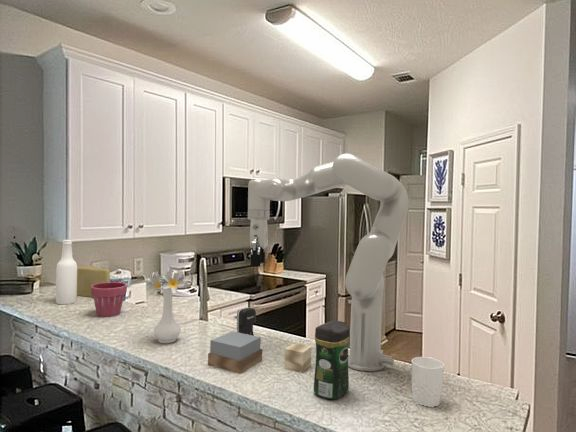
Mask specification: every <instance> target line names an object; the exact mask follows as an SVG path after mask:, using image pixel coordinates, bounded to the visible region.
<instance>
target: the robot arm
mask: <svg viewBox="0 0 576 432" xmlns="http://www.w3.org/2000/svg"><path fill="white" fill-rule="evenodd" d="M247 186H248V187H247V188H248V191H247V195H248V196H247V220H250V225H249V226H250V229H249V246H250V248H251V250H250V267H258V268H259V267H260V266H261V264H264V263H266V248H267V247H268V246H269V241H268V239H269V236H268V235H269V233H268V232H269V231H268V229H269V228H268V220H270V215H271V214H270V209H271V208H270V206H271V204H270V203H271V201H276V202H291V201H295V200H298V199H302V198H306V197H309V196H312V195H315V194H316V195H317V194H319V193H322V192H325V191H330V190H332V189H336V188H340V187H344V186H349V187H351V188H352V189H355V190H356V191H358V192H360V193H361V194H363V195H365V196H367V197H368V198H371V199H373V200H375V201H379V202H380V207H379V209H378V211H377V213H376V215H375V219H374V222H373V224H372V227H371V229H370V232H369V233H367V234H366V235H364V236H363V237H362V238H361V239H360V240H359V243H358V245H357V247H356V249H355V251H354V254H353V258H352V259H351V262H350V265H349V268H348V270H347V272H346V275H345V280H344V281H345V282H344V284H345V290H346V291H347V293H348V294H349V295H350V296H351V303H350V326H349V333H350V338H349V354H348V368H350V369H353V370H357V371H361V372H376V371H381V370H384V369H385V367H386V365H391V366H394V364H395V358H393V356H392V355H386V354H384V350H383V349H381V347H382V346H381V345H382V316H383V299H384V298H383V297H384V289H385V276H384V274H383V273H384V272H385V269H386V266H387V264H388V262H389V260H390V259H391V258H392V257H393V255H394V252H395V250H396V247H397V243H398V240H399V239H400V238H399V237H400V235H401V232H402V230H403V227H404V223H405V221H406V218H407V216H408V212H409V205H410V201H409V195H408V192H407V189H406V188H405V186H404V184H402V183H401V182H400V180H399V179H397V177H395V176H394V175H393V174H390V173H388V172H386V171H384V170H383V169H380V168H379V167H376V166H374V165H373V164H371V163H369V162H367V161H365V160H363V159H361V158H360V157H359V156H357V155H355V154H353V153H350V152H349V153H348V152H347V153H342V154H339V155H338V156H337V157H336V158H335V159H334V160H333V161H329V162H327V163H323V164H319V165H315V166H313V167H311V169H310V170H309V171H308V173H306V174H303V175H302V176H298V177H294V178H290V179H282V178H276V177H275V178H274V177H273V178H269V179H261V178H260V179H259V178H258V179H251V180H249V181H248V185H247Z"/></svg>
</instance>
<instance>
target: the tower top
mask: <svg viewBox="0 0 576 432" xmlns="http://www.w3.org/2000/svg"><path fill="white" fill-rule="evenodd" d="M261 341H262V340H261V336H257V335H254V336H252V335H248V334H243V333H238V332H237V331H233V330H232V331H229V332H227V333H225V334H223V335H220V336H218V337H216V338H215V337H214V338H212V339H210V344H209V345H210V346H209V347H210V348H209V349H210V352H209V353H211V354H215V355H218V356H222V357H226V358H230V359H234V360H238V361H241V360H243V359H244V358H246V357H248V356H250V355H252V354H254V353H255V352H257V351H259V350H260V349H261Z"/></svg>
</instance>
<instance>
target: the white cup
mask: <svg viewBox="0 0 576 432" xmlns="http://www.w3.org/2000/svg"><path fill="white" fill-rule="evenodd" d="M444 369H445V363H443V361H441V360H439V359H437V358H433V357H429V356H428V357H427V356H416V357H413V358H412V359H411V389H412V401H413V402H414V401H415V402H414V403H416V404H417V403H418V404H417V405H419V404H420V405H419V406H421V405H424V406H423V407H426V406H436V407H438V406H437V405H441V403H442V402H441V401H442V400H441V399H442V392H443V383H444V371H445V370H444Z"/></svg>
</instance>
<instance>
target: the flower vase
mask: <svg viewBox="0 0 576 432" xmlns="http://www.w3.org/2000/svg"><path fill="white" fill-rule="evenodd" d="M185 277H186V276H185V274H184V273H181V272H180V270H177V272H176V273H175V274H174V275H173V272H172V271H171V270H168V271H167V272H166V274H164V275H160V274H159V271H158V270H157V271H154V272H152V274H151V277H148V278H145V279H144V282H145V283H146V284H147V286H148V287H147V288H146V290H147V291H148V293H152V292H153V297H156V296H158V295H157V294H158V292H161V291H162V294H163V305H162V306H163V307H162V314H161V315H162V316H161V319H160V320H159V322H158V323H157V325H155V327H154V328H153V335H154V337H155V338H156V339H157V341H158V343H161V344H171V343H174V342H176V341H177V337H179V336H180V335H181V332H182V329H181V327H180V325H179V324H178V323H177V321H176V320H175V318H174V313H173V297H174V295H175V294H177V292H178V287H184V289H186V290H188V288H189V286H190V285H189V283H187V281H185Z"/></svg>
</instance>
